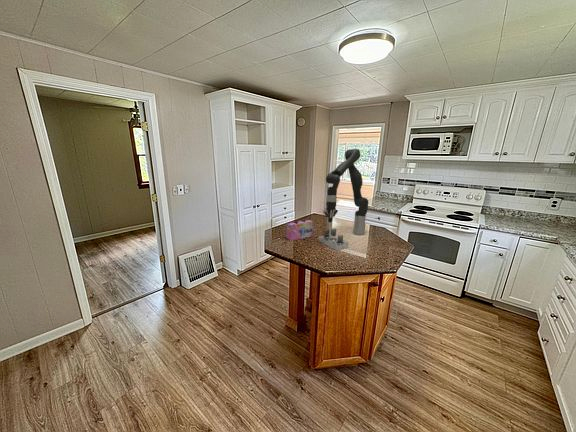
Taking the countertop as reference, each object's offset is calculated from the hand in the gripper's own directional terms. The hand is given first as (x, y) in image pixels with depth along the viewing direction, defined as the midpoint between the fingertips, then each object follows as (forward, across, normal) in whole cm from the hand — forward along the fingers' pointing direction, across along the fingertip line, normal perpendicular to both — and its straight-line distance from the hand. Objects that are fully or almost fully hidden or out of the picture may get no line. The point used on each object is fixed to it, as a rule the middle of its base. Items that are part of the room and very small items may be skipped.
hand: (330, 222), depth 184 cm
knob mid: (+10, 0, +5) cm, 11 cm away
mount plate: (+17, 0, +5) cm, 18 cm away
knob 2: (+13, -1, +13) cm, 18 cm away
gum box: (+17, +15, -21) cm, 31 cm away
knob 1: (+13, 0, -3) cm, 14 cm away
